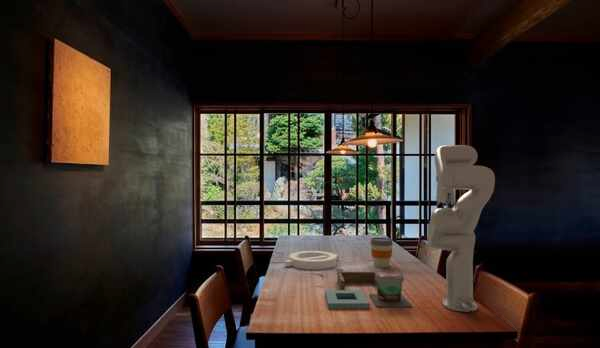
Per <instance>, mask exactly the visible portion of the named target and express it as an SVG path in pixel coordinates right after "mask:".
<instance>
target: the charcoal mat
mask: <svg viewBox="0 0 600 348" xmlns="http://www.w3.org/2000/svg"><path fill="white" fill-rule="evenodd" d="M369 298H370V299H371V301H372V302H373V303H374V306H375V305H376V306H375V307H376V308H377V307H382V308H413V305H412V304H411V302H410V301H409V300H408V299H407V298H406V297H405V296H404V295H403V294H402V293H401V300H400V301H399V302H395V303H389V302H384V301H381V300H379V299H378V293H369Z"/></svg>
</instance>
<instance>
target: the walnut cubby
mask: <svg viewBox="0 0 600 348" xmlns="http://www.w3.org/2000/svg"><path fill="white" fill-rule="evenodd" d="M336 274H337V278H336V279H337V280H336V281H337V285H338V287H339V290H346V284H350V283H351V284H360V283H361V284H365V283H366V284H374V286H376V287H377V281H376V280H375V277H376V275H377V276H380V277H381V275H380V274H379V272H377V271H337V273H336Z"/></svg>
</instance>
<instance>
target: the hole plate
mask: <svg viewBox="0 0 600 348" xmlns="http://www.w3.org/2000/svg"><path fill="white" fill-rule="evenodd" d="M324 296H325V300H326V304H328V305H327V308H367V309H370V307H371V306H370V305H371V304H370V302H369V300H368V298H367V296H366V295H365V293H364V291H363V289H345V290H340V289H325V290H324Z"/></svg>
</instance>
